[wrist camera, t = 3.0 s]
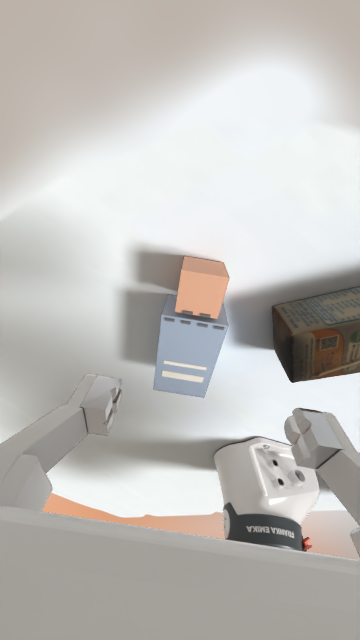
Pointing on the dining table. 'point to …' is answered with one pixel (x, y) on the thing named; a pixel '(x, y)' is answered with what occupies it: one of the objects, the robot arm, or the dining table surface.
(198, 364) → the double-striped slate block
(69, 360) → the dining table surface
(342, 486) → the robot arm
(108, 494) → the dining table surface
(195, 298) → the stub
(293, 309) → the beverage carton
